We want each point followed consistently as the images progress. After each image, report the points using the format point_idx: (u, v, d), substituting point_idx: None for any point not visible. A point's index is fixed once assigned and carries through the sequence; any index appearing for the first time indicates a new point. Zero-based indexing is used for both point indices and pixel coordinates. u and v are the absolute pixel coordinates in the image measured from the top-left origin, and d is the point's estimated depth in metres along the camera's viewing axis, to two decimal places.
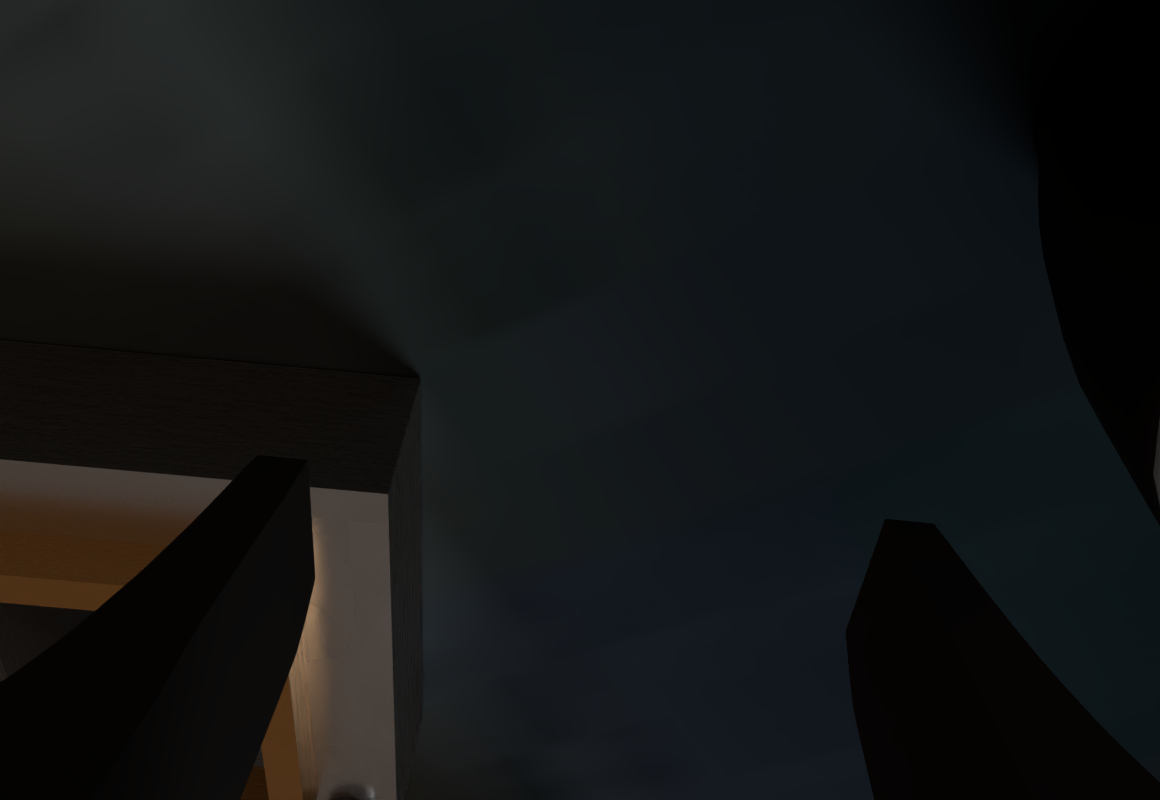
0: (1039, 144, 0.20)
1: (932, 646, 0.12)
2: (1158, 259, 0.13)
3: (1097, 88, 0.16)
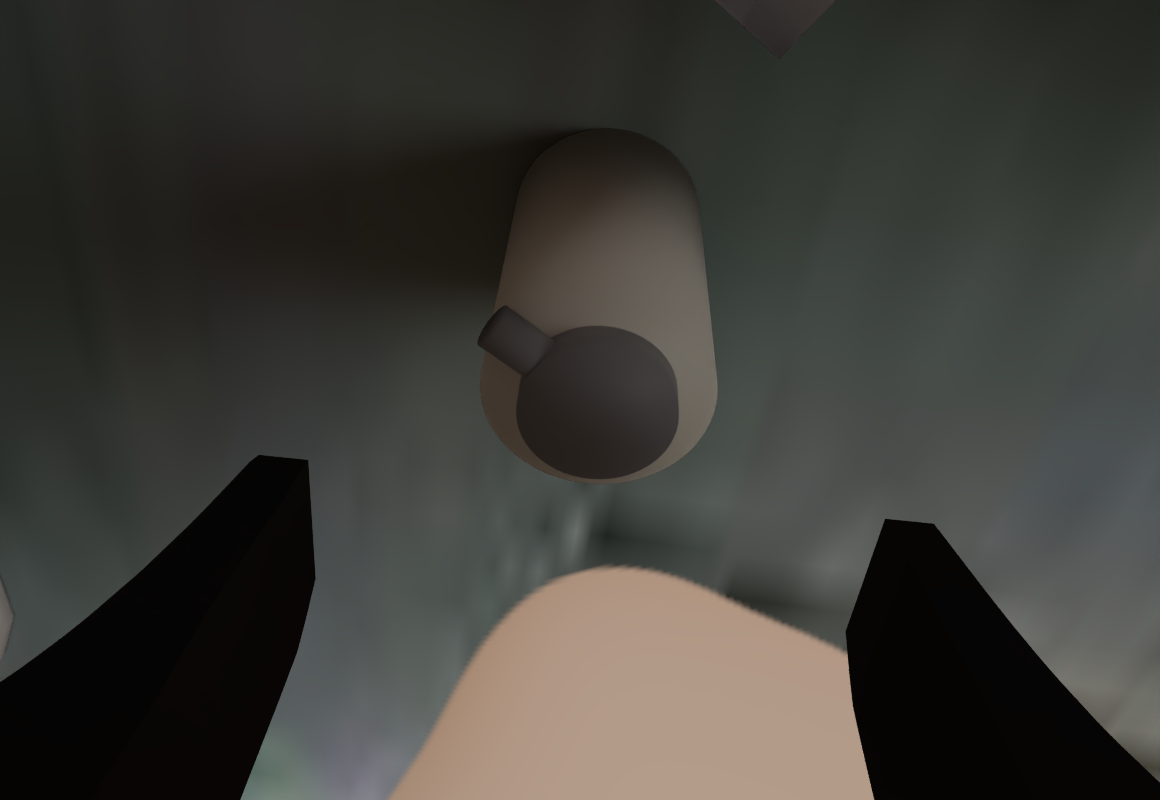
0: None
1: (932, 646, 0.12)
2: None
3: None
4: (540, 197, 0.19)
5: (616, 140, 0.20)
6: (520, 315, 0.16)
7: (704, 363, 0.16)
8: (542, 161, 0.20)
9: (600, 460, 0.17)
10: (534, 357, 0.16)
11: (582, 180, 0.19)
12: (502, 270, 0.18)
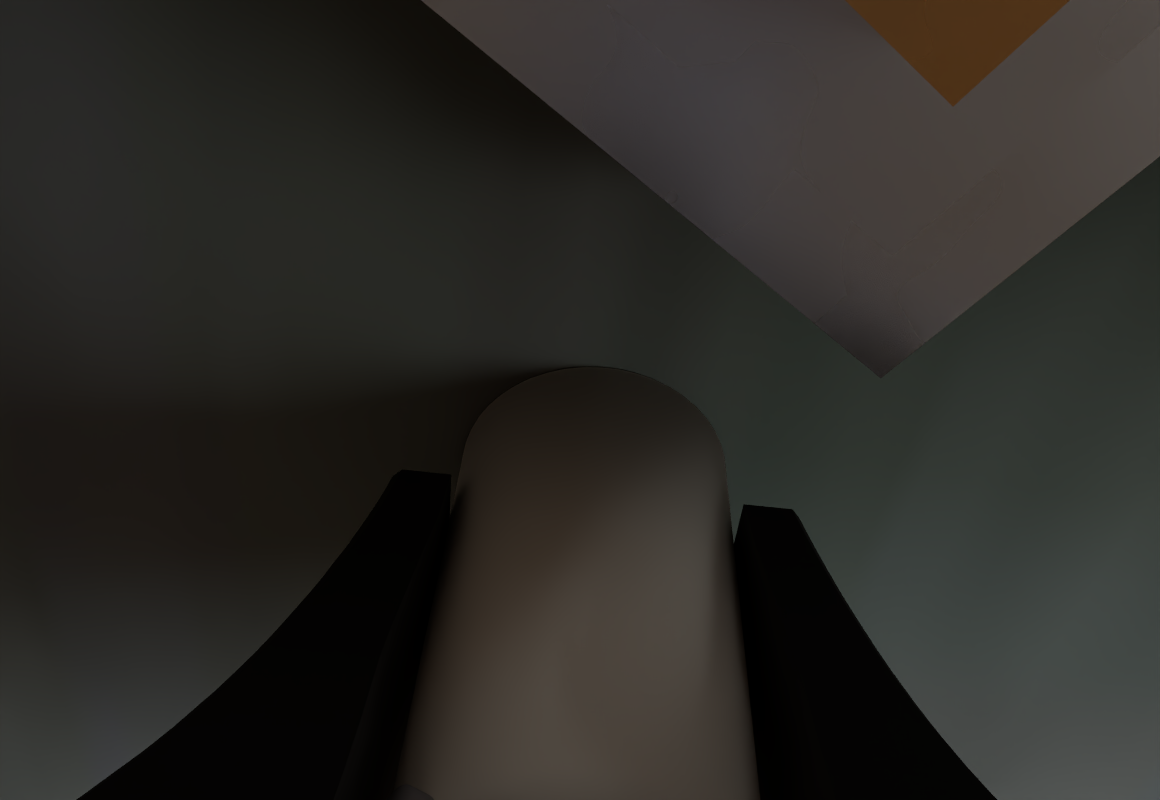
0: None
1: (769, 630, 0.11)
2: None
3: None
4: (488, 501, 0.12)
5: (606, 394, 0.13)
6: None
7: None
8: (497, 416, 0.14)
9: None
10: None
11: (552, 480, 0.12)
12: (428, 622, 0.12)
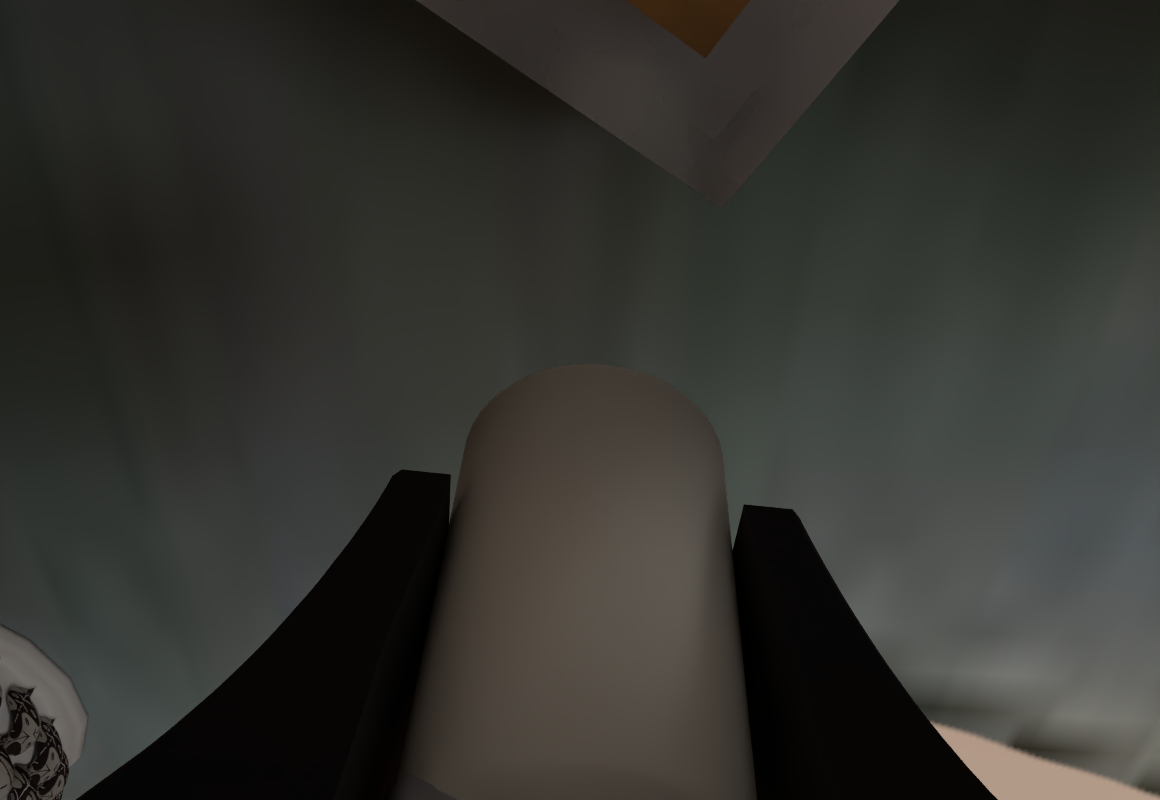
0: None
1: (769, 630, 0.11)
2: None
3: None
4: (489, 497, 0.13)
5: (604, 390, 0.14)
6: (439, 792, 0.09)
7: None
8: (497, 412, 0.14)
9: None
10: None
11: (552, 475, 0.12)
12: (430, 616, 0.12)
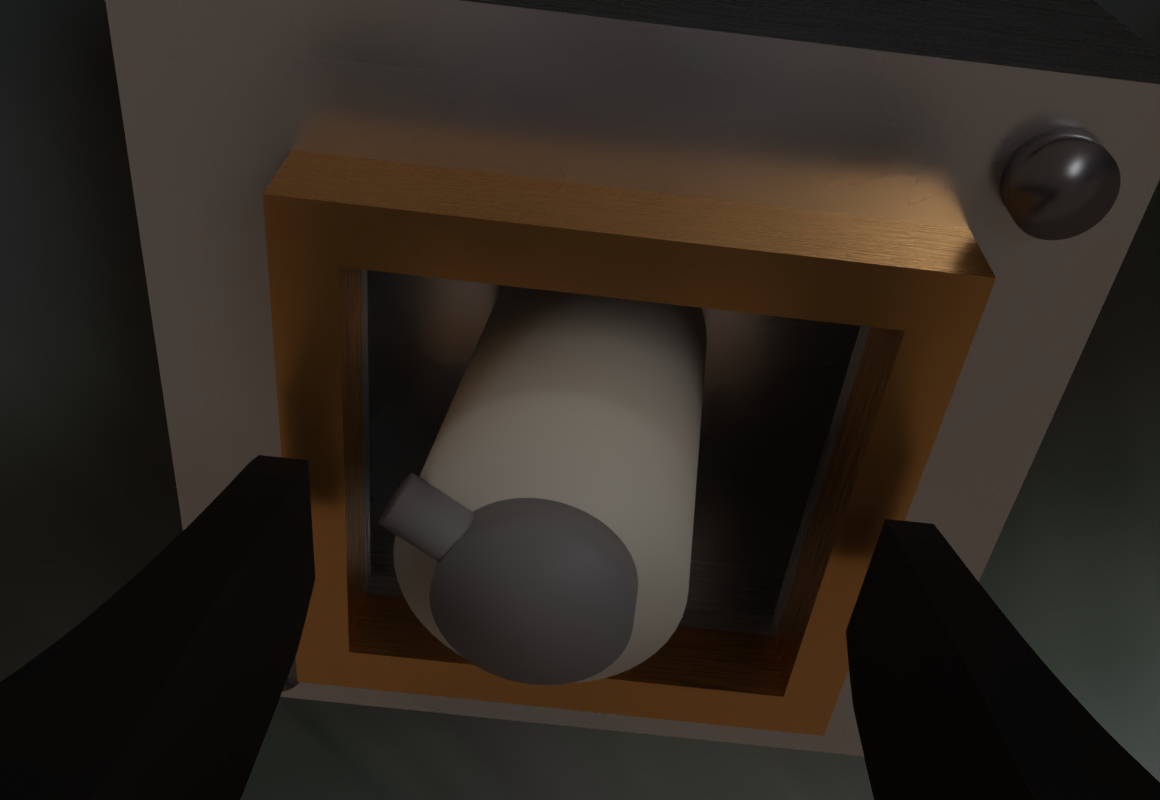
0: None
1: (932, 646, 0.12)
2: None
3: None
4: (497, 324, 0.16)
5: None
6: (431, 485, 0.13)
7: (667, 544, 0.13)
8: None
9: (541, 663, 0.13)
10: (445, 539, 0.12)
11: (545, 303, 0.15)
12: None
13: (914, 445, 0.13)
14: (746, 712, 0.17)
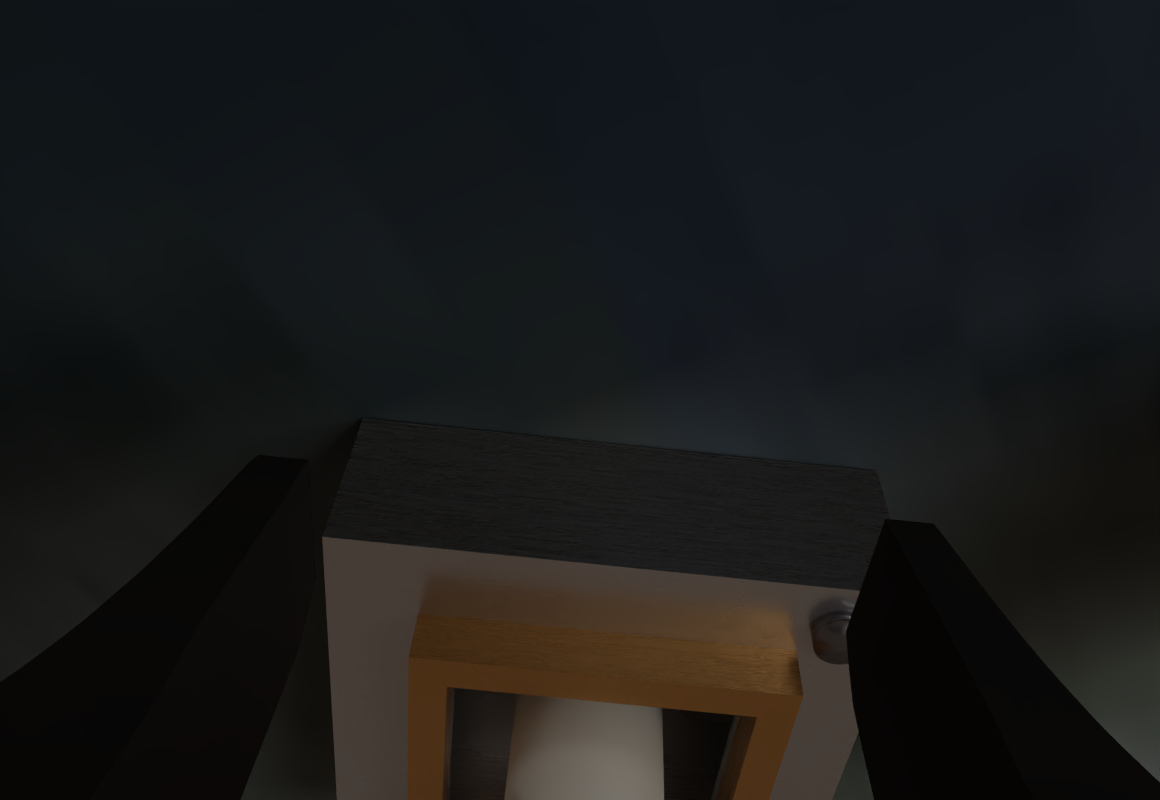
0: None
1: (932, 646, 0.12)
2: None
3: None
4: None
5: None
6: None
7: None
8: None
9: None
10: None
11: None
12: (513, 727, 0.26)
13: (769, 766, 0.24)
14: None
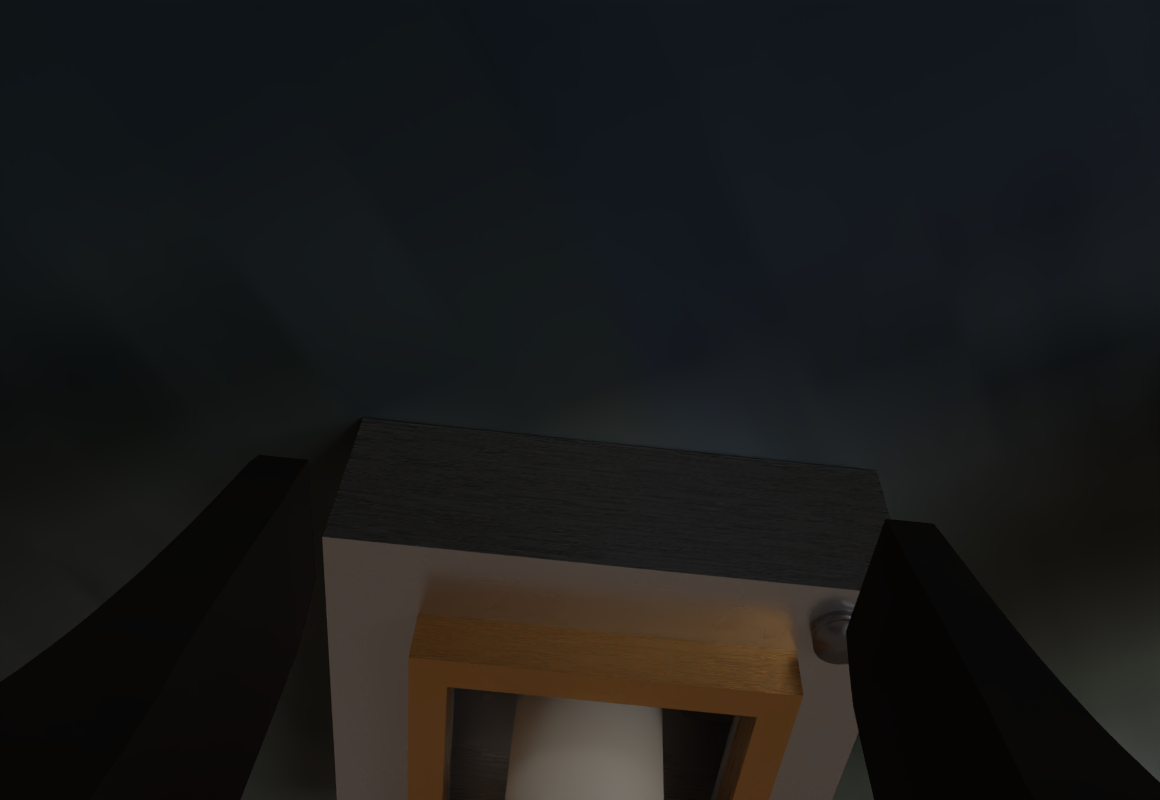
0: None
1: (932, 646, 0.12)
2: None
3: None
4: None
5: None
6: None
7: None
8: None
9: None
10: None
11: None
12: (513, 729, 0.26)
13: (769, 766, 0.24)
14: None
